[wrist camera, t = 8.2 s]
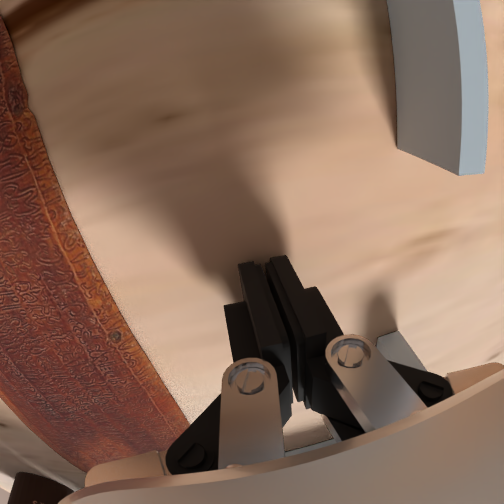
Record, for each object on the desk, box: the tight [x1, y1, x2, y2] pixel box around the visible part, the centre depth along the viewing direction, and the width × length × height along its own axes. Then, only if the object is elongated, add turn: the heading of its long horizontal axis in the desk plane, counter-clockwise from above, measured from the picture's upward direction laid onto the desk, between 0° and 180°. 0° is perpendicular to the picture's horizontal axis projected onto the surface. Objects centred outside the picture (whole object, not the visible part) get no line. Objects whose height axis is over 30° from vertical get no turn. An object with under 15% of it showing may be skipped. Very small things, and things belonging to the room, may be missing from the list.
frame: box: [285, 0, 488, 457], centre depth 10 cm, size 12×31×3 cm, turn 7°
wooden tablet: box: [0, 15, 190, 473], centre depth 11 cm, size 27×10×2 cm, turn 9°
